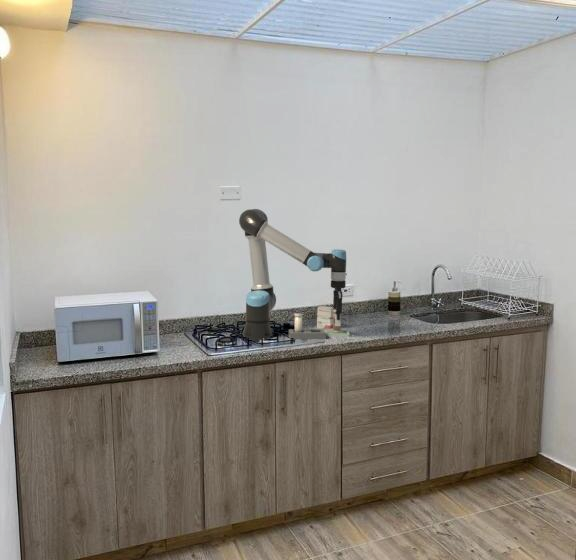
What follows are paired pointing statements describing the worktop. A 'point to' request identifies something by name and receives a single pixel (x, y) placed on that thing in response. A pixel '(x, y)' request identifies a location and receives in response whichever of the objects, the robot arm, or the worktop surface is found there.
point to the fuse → (298, 322)
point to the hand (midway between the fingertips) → (336, 324)
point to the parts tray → (343, 334)
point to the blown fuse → (335, 328)
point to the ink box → (325, 317)
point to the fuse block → (307, 334)
